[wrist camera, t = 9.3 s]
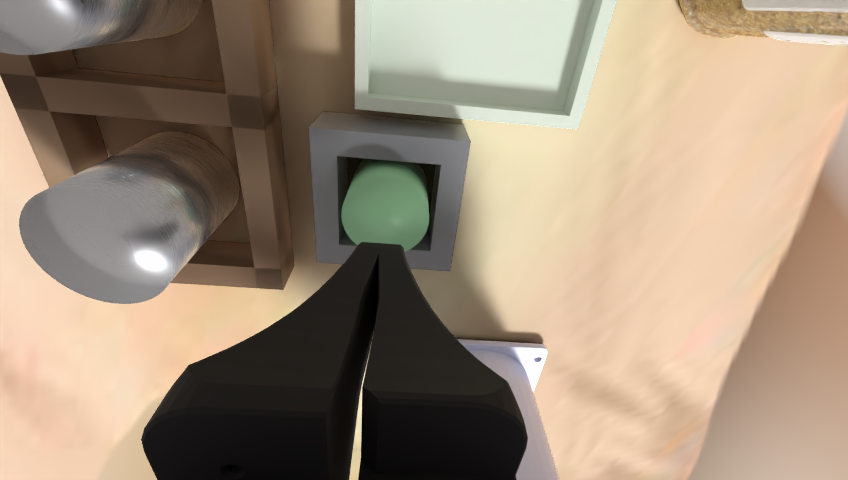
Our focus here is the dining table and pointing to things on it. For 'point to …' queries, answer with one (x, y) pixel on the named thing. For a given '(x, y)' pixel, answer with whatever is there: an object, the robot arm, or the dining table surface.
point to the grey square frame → (392, 142)
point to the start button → (387, 203)
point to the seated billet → (131, 217)
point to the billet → (88, 23)
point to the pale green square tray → (480, 58)
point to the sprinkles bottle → (771, 19)
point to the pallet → (183, 103)
